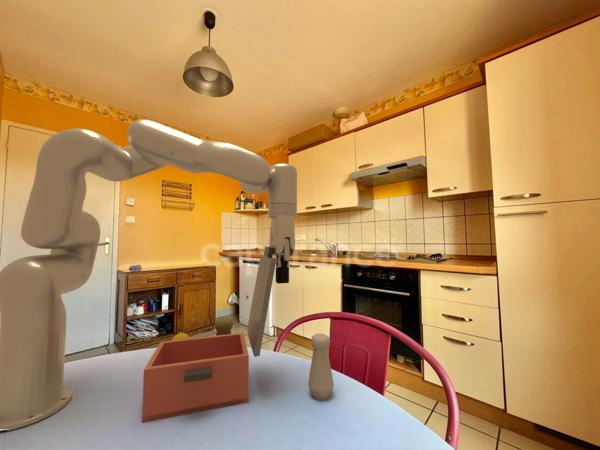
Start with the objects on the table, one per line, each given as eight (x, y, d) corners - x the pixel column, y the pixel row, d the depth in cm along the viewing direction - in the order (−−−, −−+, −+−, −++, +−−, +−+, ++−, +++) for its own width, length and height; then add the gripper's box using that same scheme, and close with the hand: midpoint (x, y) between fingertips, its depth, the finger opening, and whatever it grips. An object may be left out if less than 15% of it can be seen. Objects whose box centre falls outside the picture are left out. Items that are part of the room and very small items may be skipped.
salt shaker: (315, 383, 60) (315, 329, 61) (337, 391, 57) (337, 333, 58) (303, 397, 55) (303, 337, 56) (327, 405, 52) (326, 342, 53)
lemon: (164, 364, 70) (165, 334, 71) (178, 355, 76) (179, 328, 76) (181, 366, 69) (182, 336, 69) (194, 357, 74) (195, 329, 75)
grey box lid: (273, 247, 56) (278, 248, 56) (262, 245, 71) (266, 246, 72) (253, 358, 53) (259, 359, 54) (246, 332, 69) (250, 332, 69)
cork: (236, 352, 78) (237, 316, 78) (229, 361, 72) (229, 322, 72) (218, 351, 78) (218, 315, 79) (209, 360, 72) (209, 321, 73)
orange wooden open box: (137, 432, 45) (139, 376, 46) (161, 377, 63) (162, 338, 64) (249, 409, 51) (249, 360, 52) (242, 365, 69) (242, 329, 70)
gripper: (263, 214, 71) (263, 279, 70) (274, 208, 57) (273, 289, 56) (289, 215, 74) (288, 278, 73) (305, 209, 59) (305, 287, 58)
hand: (282, 282), depth 64 cm, fingers closed
